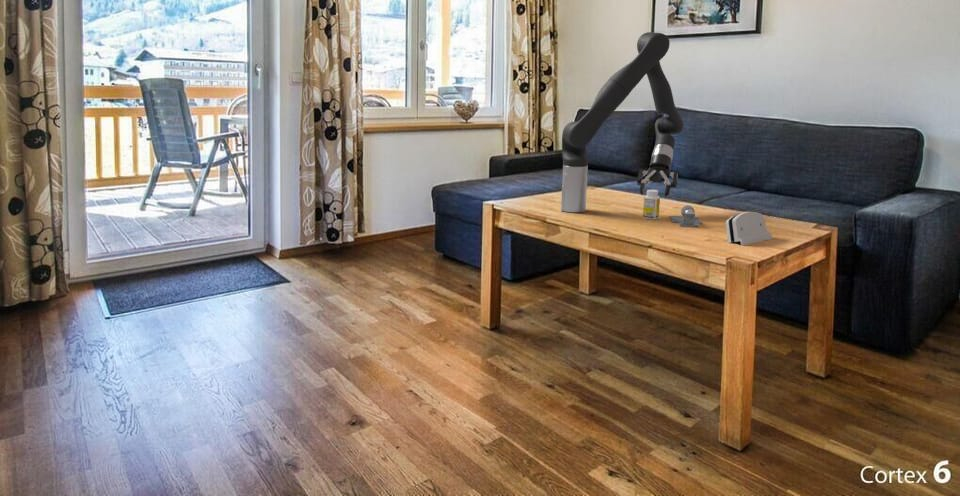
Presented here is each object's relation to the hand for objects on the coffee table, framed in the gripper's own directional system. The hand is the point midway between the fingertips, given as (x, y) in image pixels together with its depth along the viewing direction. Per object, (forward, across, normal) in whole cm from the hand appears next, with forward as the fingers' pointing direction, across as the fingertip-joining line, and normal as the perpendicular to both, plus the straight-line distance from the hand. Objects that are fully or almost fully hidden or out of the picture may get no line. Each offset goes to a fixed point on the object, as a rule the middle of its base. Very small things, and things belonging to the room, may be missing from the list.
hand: (653, 194), depth 240 cm
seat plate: (+7, +12, +5) cm, 14 cm away
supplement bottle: (+8, 0, +4) cm, 9 cm away
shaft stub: (+12, +14, 0) cm, 18 cm away
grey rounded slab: (+22, +34, -10) cm, 41 cm away
